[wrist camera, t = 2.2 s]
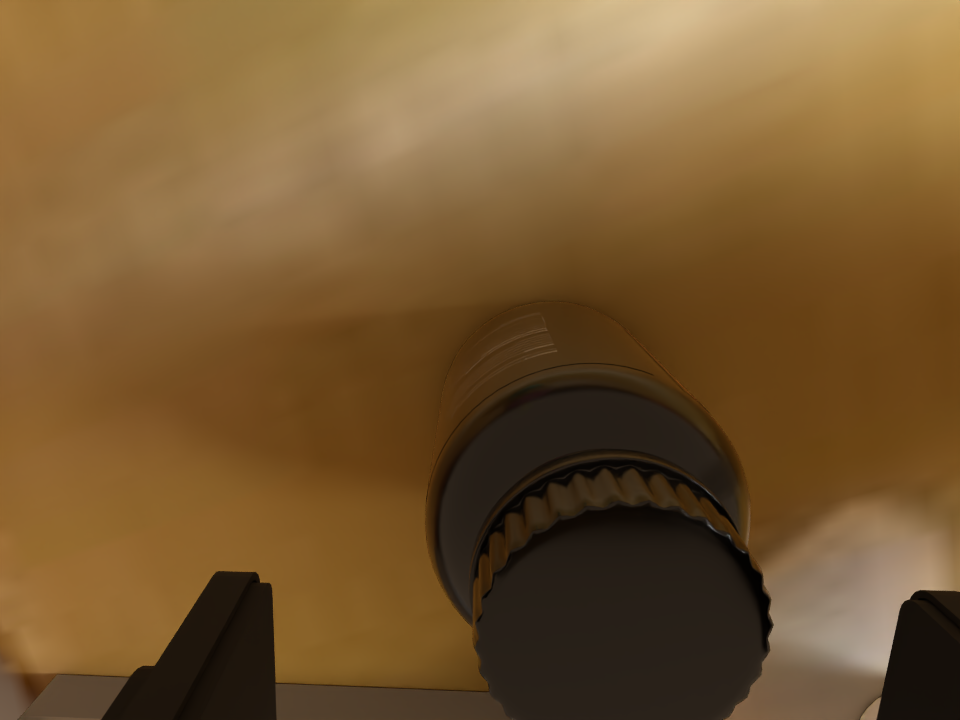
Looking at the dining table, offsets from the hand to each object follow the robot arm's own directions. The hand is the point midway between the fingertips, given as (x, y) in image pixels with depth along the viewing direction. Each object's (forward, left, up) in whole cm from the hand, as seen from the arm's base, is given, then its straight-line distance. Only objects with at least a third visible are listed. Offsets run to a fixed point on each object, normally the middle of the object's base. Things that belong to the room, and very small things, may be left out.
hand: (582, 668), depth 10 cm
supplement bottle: (-1, 0, -13) cm, 13 cm away
